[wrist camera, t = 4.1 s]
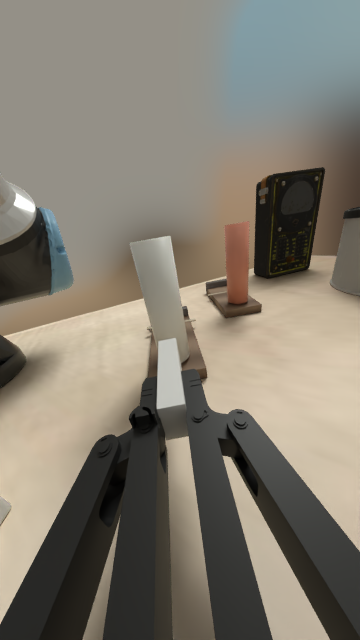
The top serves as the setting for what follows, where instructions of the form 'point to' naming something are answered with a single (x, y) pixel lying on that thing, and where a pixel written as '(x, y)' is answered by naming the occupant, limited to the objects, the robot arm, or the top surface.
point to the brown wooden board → (195, 355)
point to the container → (348, 255)
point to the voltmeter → (286, 221)
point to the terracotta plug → (237, 261)
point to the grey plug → (161, 291)
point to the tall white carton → (4, 508)
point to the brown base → (219, 297)
